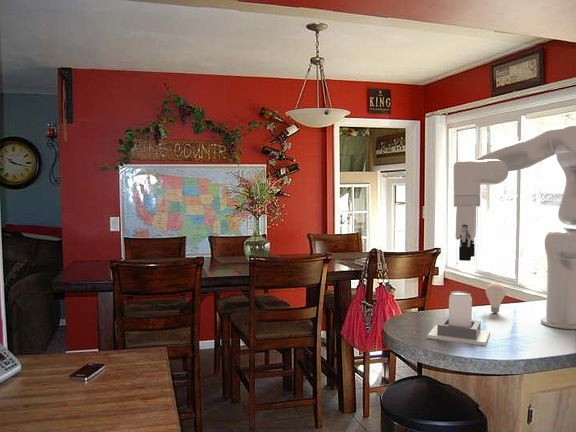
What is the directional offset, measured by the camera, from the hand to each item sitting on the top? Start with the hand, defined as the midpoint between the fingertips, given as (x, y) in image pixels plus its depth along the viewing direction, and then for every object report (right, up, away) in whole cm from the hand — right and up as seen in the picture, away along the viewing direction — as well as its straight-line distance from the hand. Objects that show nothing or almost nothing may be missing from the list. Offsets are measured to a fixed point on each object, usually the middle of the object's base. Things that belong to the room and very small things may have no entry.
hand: (467, 258), depth 150 cm
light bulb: (+20, -22, +28) cm, 41 cm away
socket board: (-3, -23, -1) cm, 23 cm away
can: (-3, -22, -1) cm, 23 cm away
